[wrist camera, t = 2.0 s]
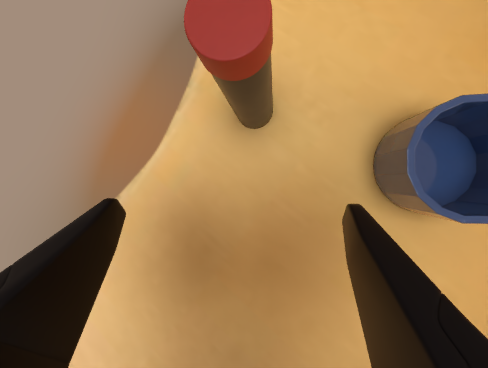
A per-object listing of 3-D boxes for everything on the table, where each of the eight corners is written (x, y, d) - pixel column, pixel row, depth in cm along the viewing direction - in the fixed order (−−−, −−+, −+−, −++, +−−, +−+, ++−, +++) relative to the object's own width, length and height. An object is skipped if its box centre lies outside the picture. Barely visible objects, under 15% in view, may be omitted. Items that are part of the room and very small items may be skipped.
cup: (452, 227, 20) (517, 243, 15) (358, 191, 21) (387, 194, 16) (493, 136, 20) (576, 119, 14) (395, 104, 21) (437, 76, 15)
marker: (265, 135, 22) (252, 73, 9) (230, 122, 23) (171, 45, 10) (279, 98, 22) (286, -17, 9) (243, 86, 22) (201, -42, 10)
